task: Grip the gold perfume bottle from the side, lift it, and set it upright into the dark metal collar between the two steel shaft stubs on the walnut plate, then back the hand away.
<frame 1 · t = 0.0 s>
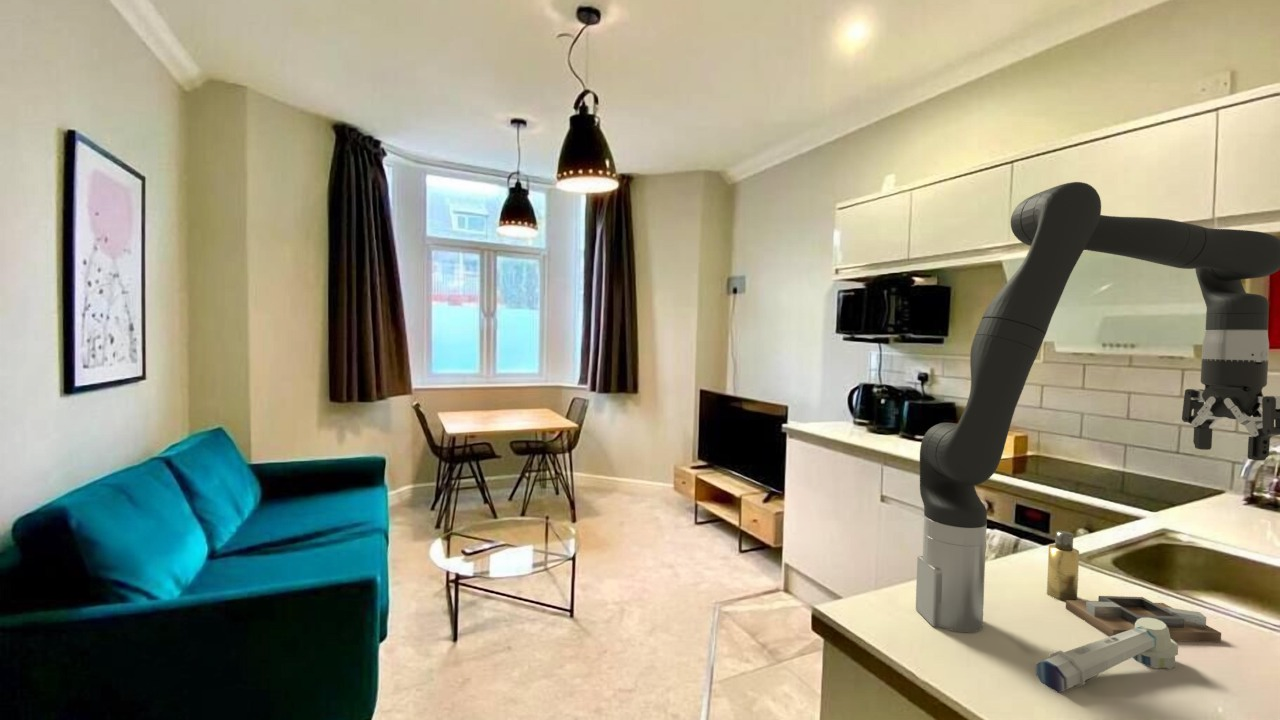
hand: (1228, 454, 92), 29 cm above the counter, tool pointing down, fingers open, 8 cm apart
walnut plate: (1138, 624, 93), on the counter
collar and shafts: (1139, 610, 93), on the walnut plate, point 2 cm above the counter
grey long angled piece: (1109, 675, 79), on the counter
gold perfume bottle: (1061, 596, 103), on the counter
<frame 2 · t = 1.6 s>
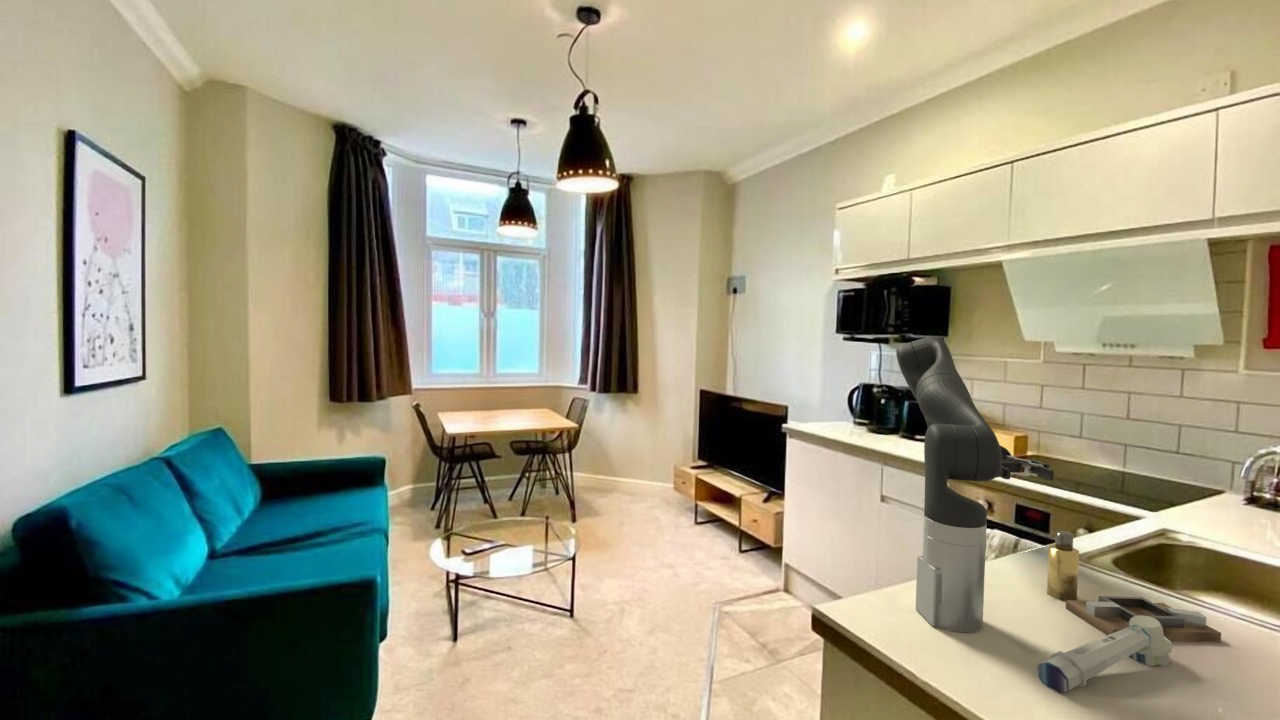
hand: (1030, 475, 113), 20 cm above the counter, tool horizontal, fingers open, 8 cm apart
nothing on the counter moved.
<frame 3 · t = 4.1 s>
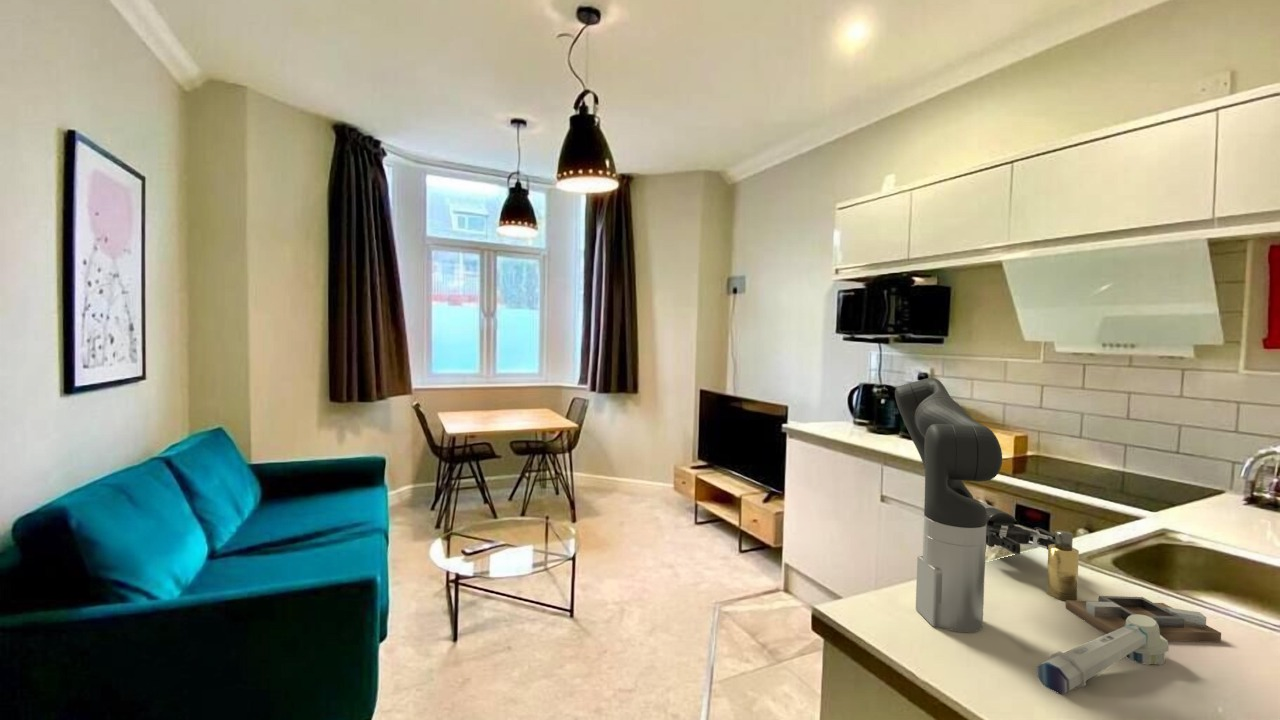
hand: (1040, 550, 108), 6 cm above the counter, tool horizontal, fingers open, 8 cm apart
nothing on the counter moved.
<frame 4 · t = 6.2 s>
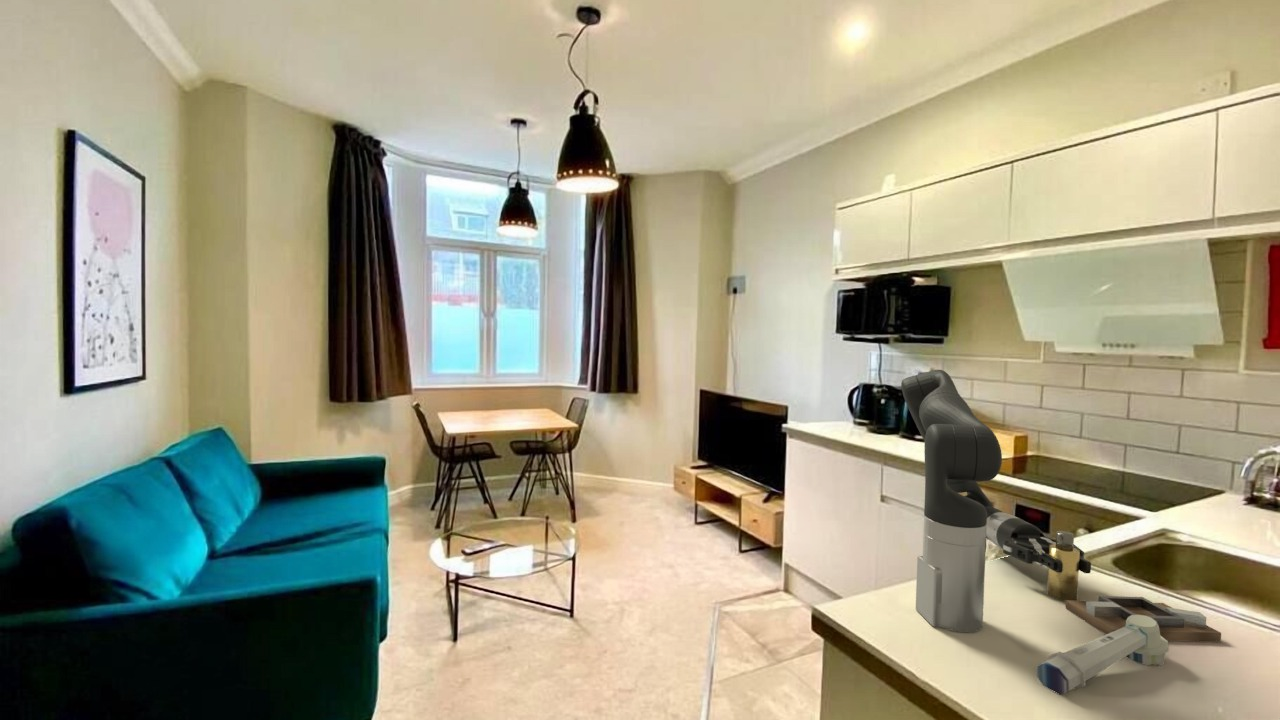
hand: (1074, 567, 100), 7 cm above the counter, tool horizontal, fingers closed on gold perfume bottle, 4 cm apart
gold perfume bottle: (1061, 595, 103), on the counter, touching gripper
everything else where it was.
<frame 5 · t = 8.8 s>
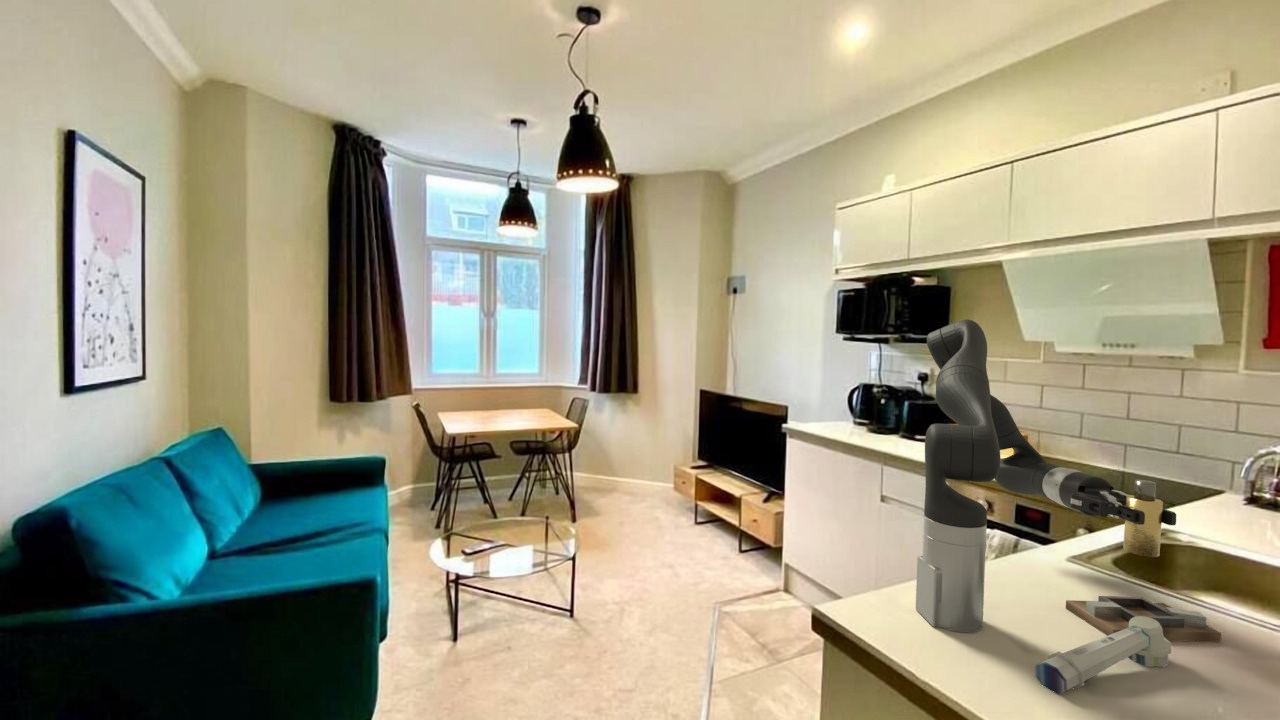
hand: (1157, 518, 90), 19 cm above the counter, tool horizontal, fingers closed on gold perfume bottle, 4 cm apart
gold perfume bottle: (1141, 551, 92), point 12 cm above the counter, touching gripper
everything else where it was.
when the fingers open (9 cm above the counter, at t = 11.6 s): gold perfume bottle stays where it is, resting on walnut plate.
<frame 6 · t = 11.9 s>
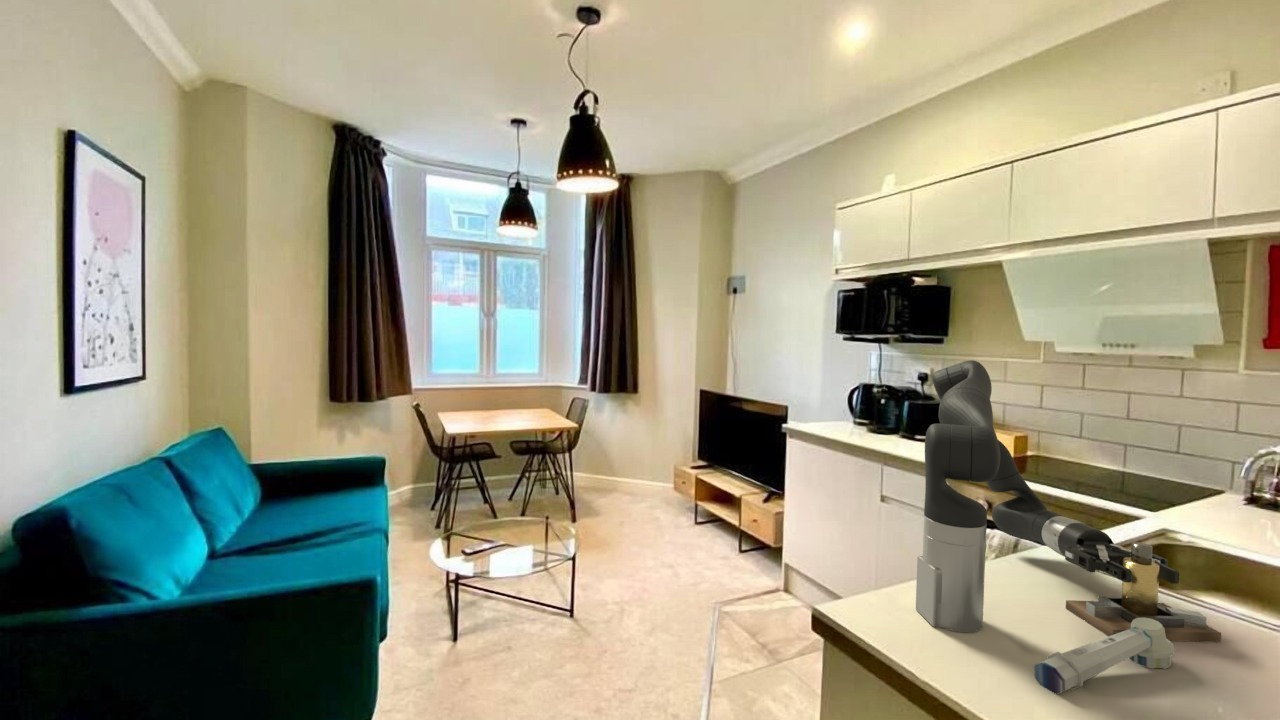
hand: (1153, 577, 90), 9 cm above the counter, tool horizontal, fingers open, 7 cm apart
gold perfume bottle: (1138, 615, 93), point 2 cm above the counter, touching walnut plate
everything else where it was.
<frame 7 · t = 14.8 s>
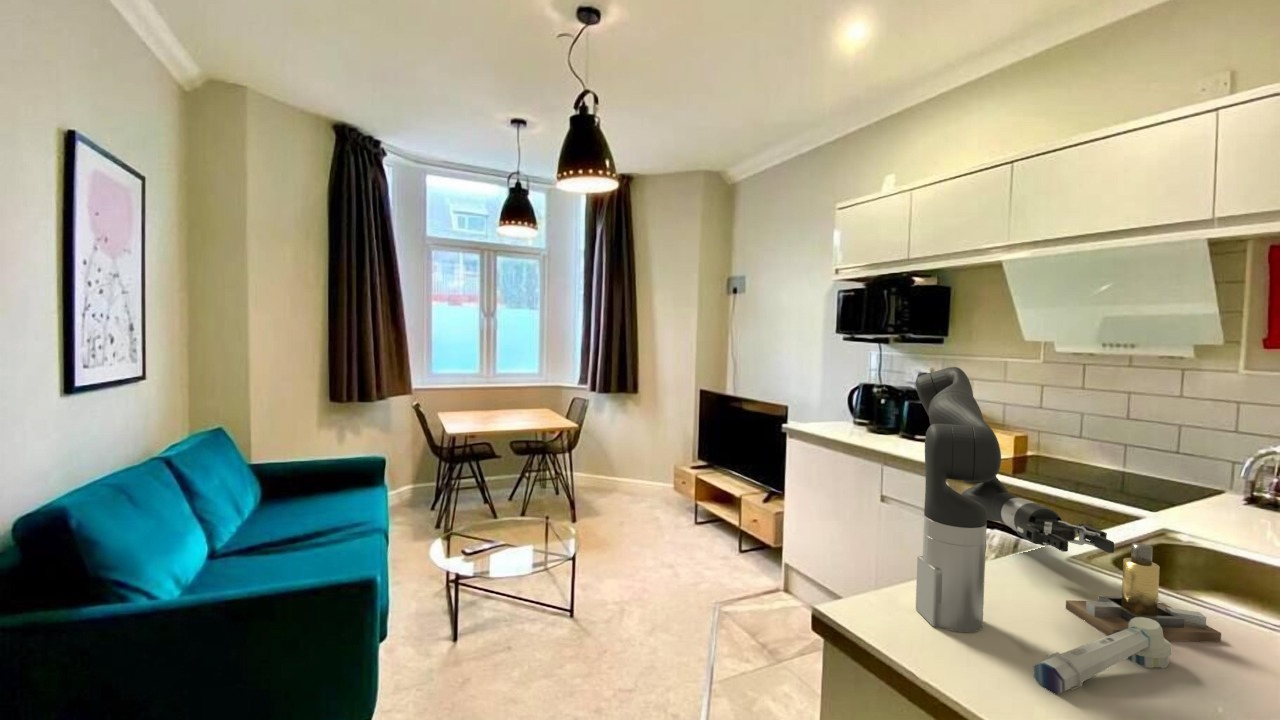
hand: (1089, 547, 103), 9 cm above the counter, tool horizontal, fingers open, 8 cm apart
nothing on the counter moved.
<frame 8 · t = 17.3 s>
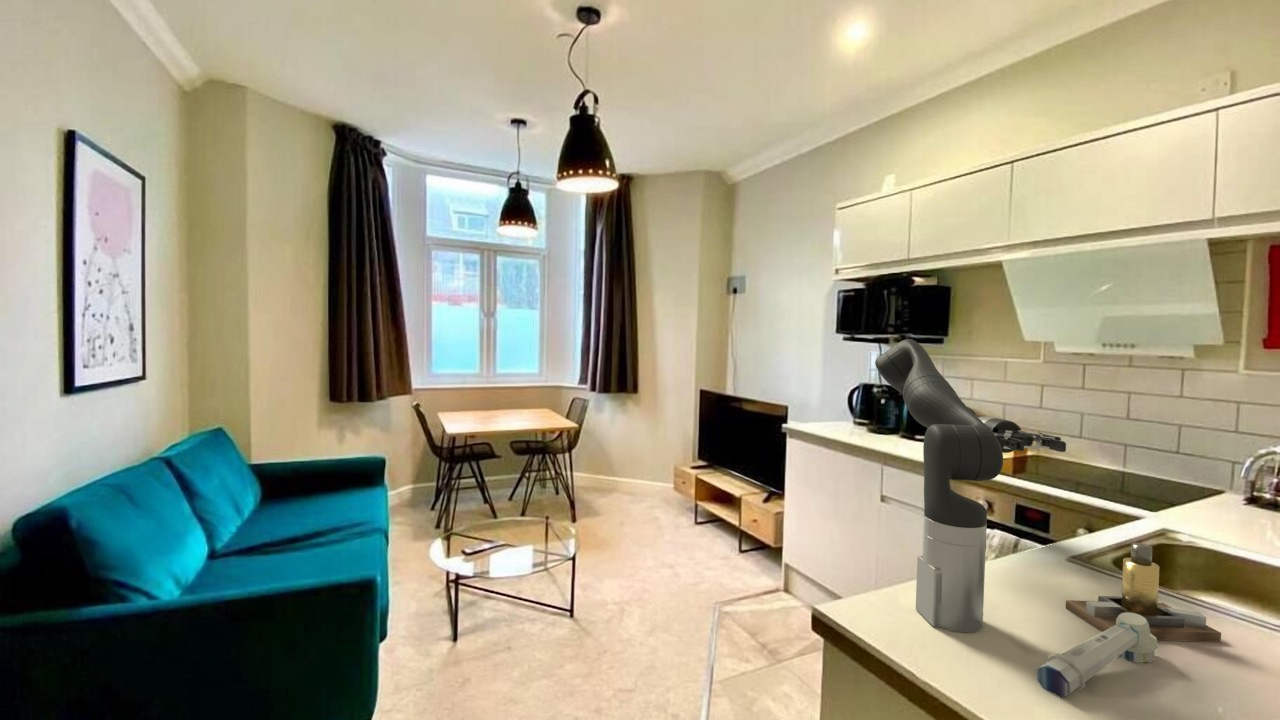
hand: (1043, 446, 114), 26 cm above the counter, tool horizontal, fingers open, 8 cm apart
at the end: gold perfume bottle 0.1 cm off-centre on the walnut plate, point 1.5 cm above the walnut plate's base; gold perfume bottle tilted 0°; the gripper is holding nothing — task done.
